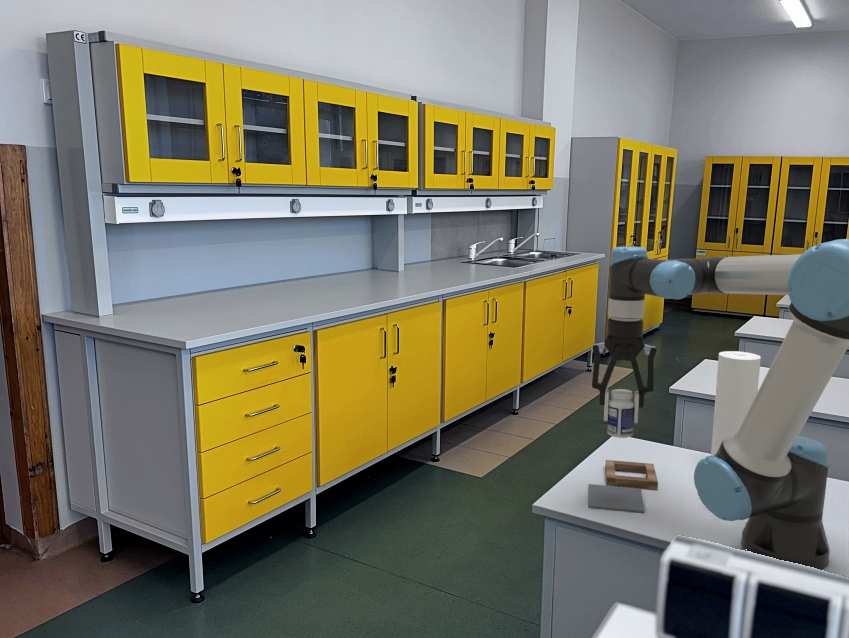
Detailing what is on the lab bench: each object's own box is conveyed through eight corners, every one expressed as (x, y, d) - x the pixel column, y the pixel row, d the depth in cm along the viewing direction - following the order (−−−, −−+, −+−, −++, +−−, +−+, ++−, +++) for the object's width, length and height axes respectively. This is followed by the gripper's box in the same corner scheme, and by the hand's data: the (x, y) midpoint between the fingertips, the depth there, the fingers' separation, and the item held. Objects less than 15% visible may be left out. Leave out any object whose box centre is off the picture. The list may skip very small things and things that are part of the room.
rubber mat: (645, 513, 151) (645, 511, 151) (588, 507, 154) (588, 505, 153) (640, 490, 162) (641, 488, 162) (588, 485, 165) (588, 483, 165)
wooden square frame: (657, 490, 163) (658, 482, 162) (606, 485, 165) (606, 477, 165) (653, 471, 174) (653, 463, 173) (605, 467, 176) (605, 459, 176)
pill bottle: (633, 431, 157) (635, 389, 156) (633, 439, 152) (635, 395, 150) (606, 429, 159) (609, 387, 157) (606, 437, 154) (608, 393, 152)
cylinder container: (757, 476, 171) (768, 357, 166) (718, 476, 171) (728, 357, 166) (740, 462, 180) (750, 349, 175) (704, 461, 180) (712, 349, 175)
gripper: (669, 316, 152) (662, 418, 156) (581, 313, 157) (578, 412, 161) (672, 322, 145) (666, 428, 149) (581, 319, 150) (577, 422, 154)
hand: (620, 419), depth 155 cm, fingers closed on pill bottle, 6 cm apart
